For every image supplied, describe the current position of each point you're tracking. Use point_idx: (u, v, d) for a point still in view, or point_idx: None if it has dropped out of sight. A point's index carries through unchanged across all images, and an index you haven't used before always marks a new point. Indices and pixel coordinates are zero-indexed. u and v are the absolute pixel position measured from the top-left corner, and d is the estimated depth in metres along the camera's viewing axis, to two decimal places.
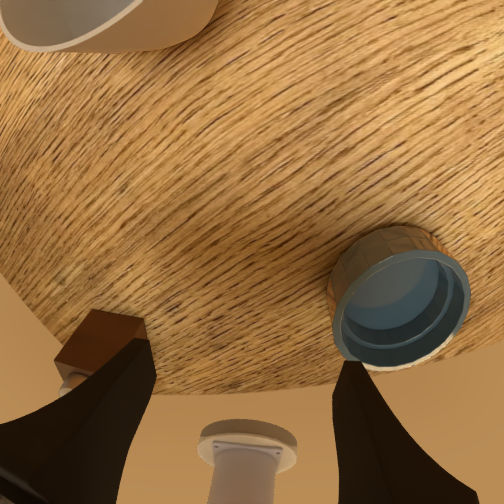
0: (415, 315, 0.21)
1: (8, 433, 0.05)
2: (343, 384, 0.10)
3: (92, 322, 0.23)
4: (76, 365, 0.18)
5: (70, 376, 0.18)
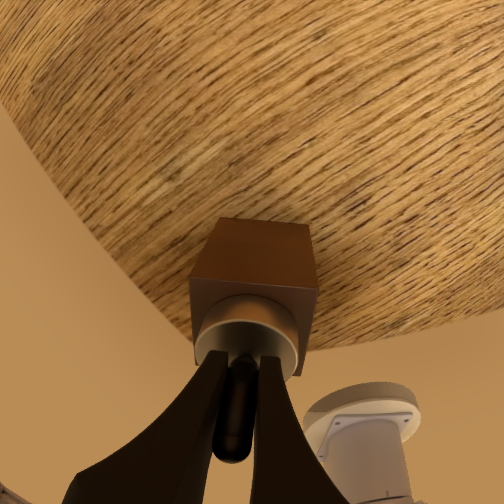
0: None
1: (106, 478, 0.05)
2: None
3: (231, 229, 0.16)
4: (241, 279, 0.12)
5: (226, 302, 0.12)
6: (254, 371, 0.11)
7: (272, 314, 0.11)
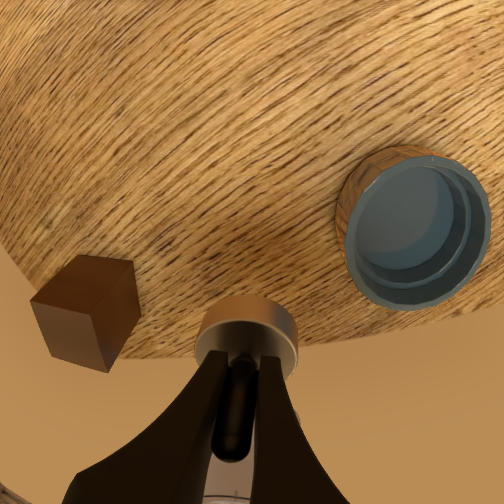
0: (431, 254, 0.19)
1: (106, 478, 0.05)
2: None
3: (76, 265, 0.21)
4: (53, 304, 0.16)
5: (226, 302, 0.12)
6: (254, 371, 0.11)
7: (271, 313, 0.11)
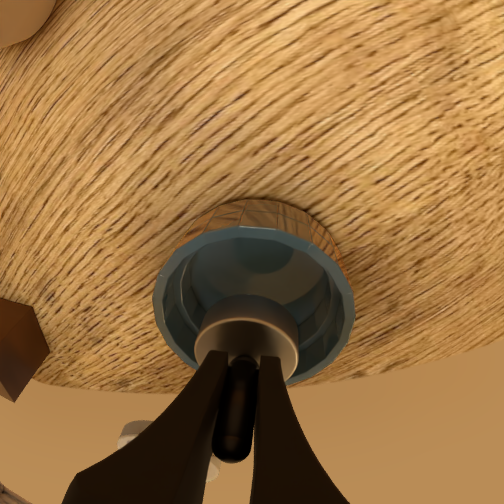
0: (302, 319, 0.18)
1: (106, 478, 0.05)
2: None
3: None
4: None
5: (226, 301, 0.12)
6: (254, 371, 0.11)
7: (272, 313, 0.11)
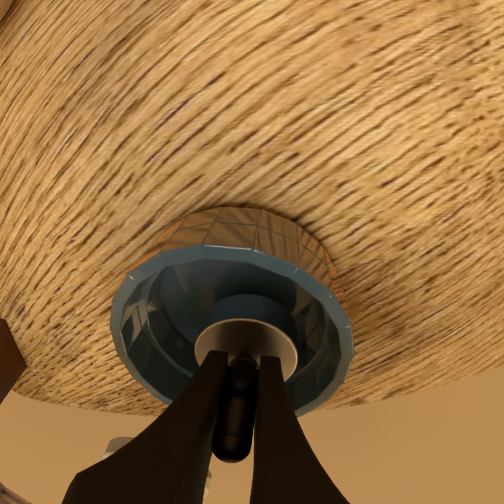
0: None
1: (106, 478, 0.05)
2: None
3: None
4: None
5: (226, 301, 0.12)
6: (254, 371, 0.11)
7: (272, 313, 0.11)
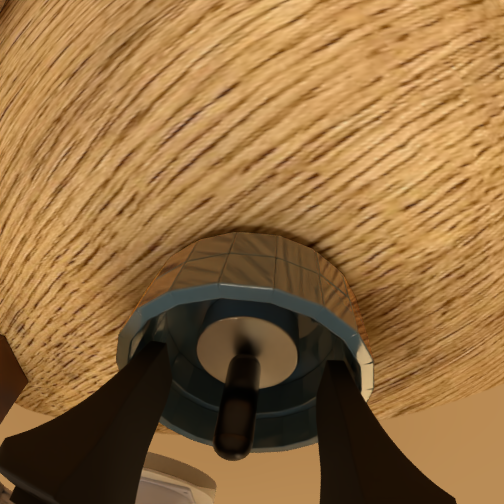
0: (305, 371, 0.14)
1: (27, 443, 0.05)
2: (325, 384, 0.10)
3: None
4: None
5: (227, 299, 0.12)
6: (256, 369, 0.11)
7: (273, 311, 0.11)
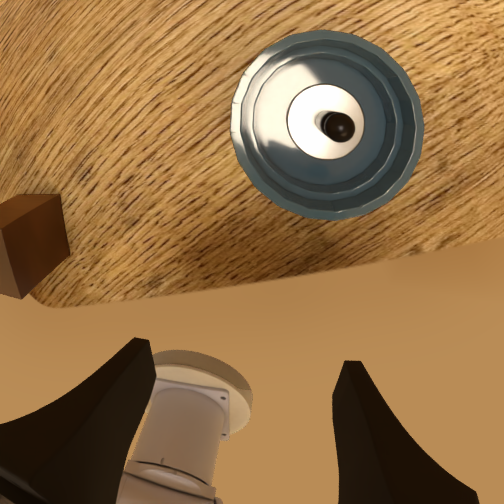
0: (364, 165, 0.17)
1: (8, 433, 0.05)
2: (343, 384, 0.10)
3: (12, 201, 0.19)
4: None
5: None
6: None
7: None
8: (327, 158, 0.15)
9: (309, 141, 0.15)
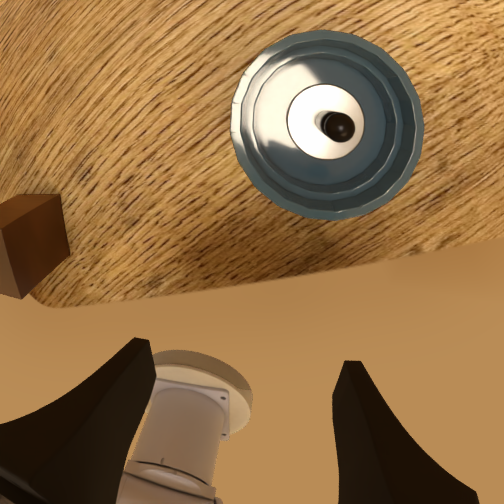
0: (364, 165, 0.17)
1: (8, 433, 0.05)
2: (343, 384, 0.10)
3: (12, 201, 0.19)
4: None
5: None
6: None
7: None
8: (327, 158, 0.15)
9: (309, 141, 0.15)
